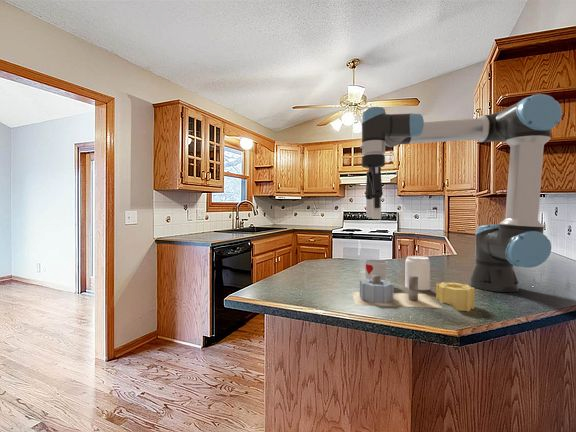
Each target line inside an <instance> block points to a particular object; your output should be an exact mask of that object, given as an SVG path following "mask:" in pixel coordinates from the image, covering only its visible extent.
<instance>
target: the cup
mask: <svg viewBox="0 0 576 432" xmlns="http://www.w3.org/2000/svg"><path fill="white" fill-rule="evenodd" d="M388 264H389V261H387V260H383V259H365V260H364V273H365V280H366V279H372V275H380V276H381V280H385V281H387V280H386V279H387V275H388Z"/></svg>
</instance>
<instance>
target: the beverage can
mask: <svg viewBox="0 0 576 432" xmlns="http://www.w3.org/2000/svg"><path fill="white" fill-rule="evenodd" d="M404 263H405V266H404V268H405V270H404V272H405V273H404V274H405V275H404V276H405V277H404V278H405V280H404V286H405V288H407V289H409V276H417V277H418V291H427V290H429V291H430V290H431V260H430V257H427V256H423V255H422V256H420V255H407V256H406V259H405V262H404Z"/></svg>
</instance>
